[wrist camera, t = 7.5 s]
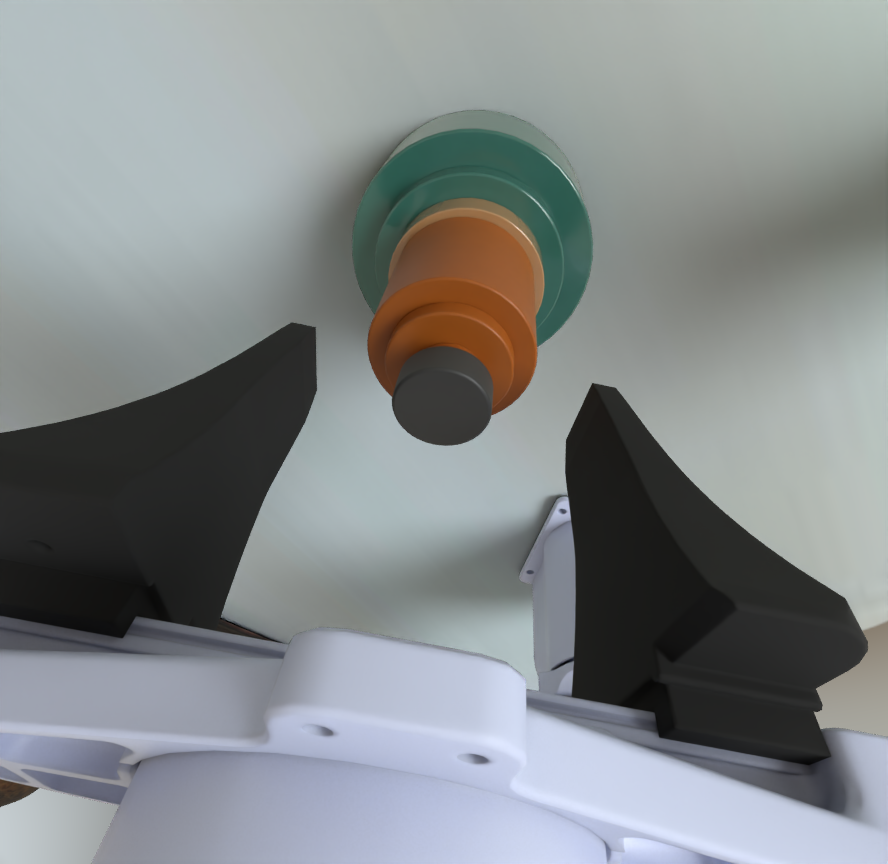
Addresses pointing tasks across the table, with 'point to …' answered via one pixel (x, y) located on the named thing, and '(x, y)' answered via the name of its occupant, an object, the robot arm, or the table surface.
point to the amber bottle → (455, 329)
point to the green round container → (480, 204)
